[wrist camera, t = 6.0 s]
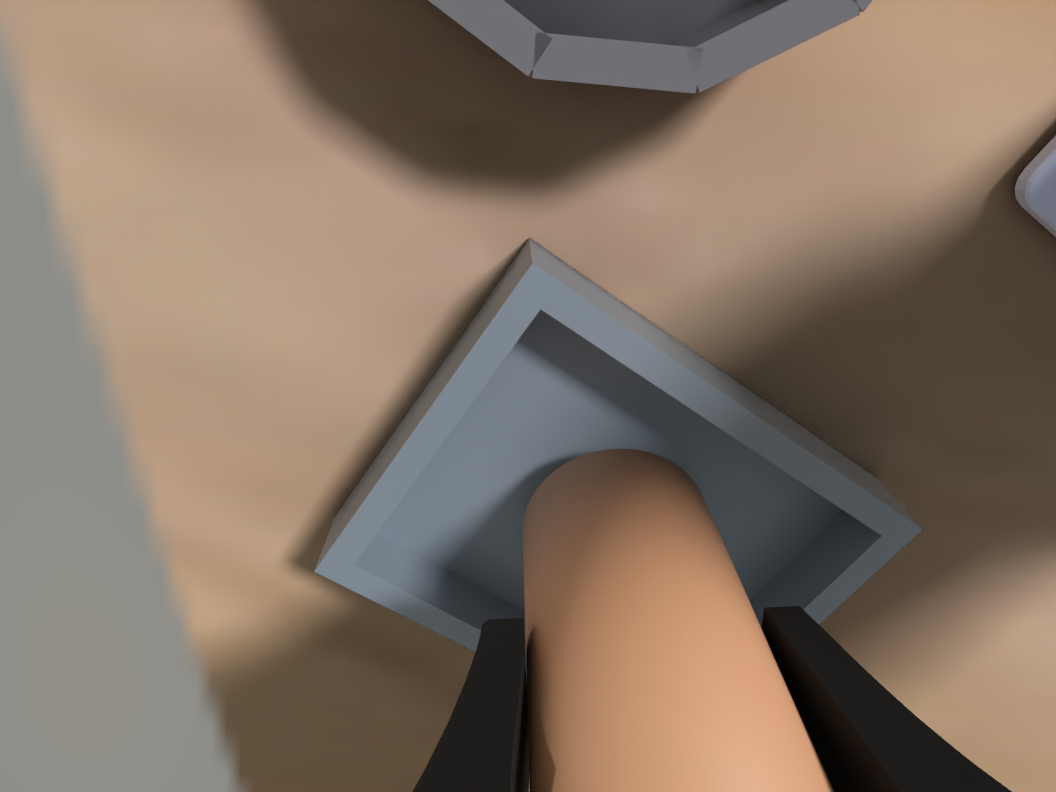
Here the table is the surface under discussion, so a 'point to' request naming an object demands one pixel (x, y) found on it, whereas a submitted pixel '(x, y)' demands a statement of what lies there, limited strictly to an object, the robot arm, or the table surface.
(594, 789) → the dowel
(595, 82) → the grey round bowl
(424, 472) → the tray
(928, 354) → the table surface
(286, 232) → the table surface
